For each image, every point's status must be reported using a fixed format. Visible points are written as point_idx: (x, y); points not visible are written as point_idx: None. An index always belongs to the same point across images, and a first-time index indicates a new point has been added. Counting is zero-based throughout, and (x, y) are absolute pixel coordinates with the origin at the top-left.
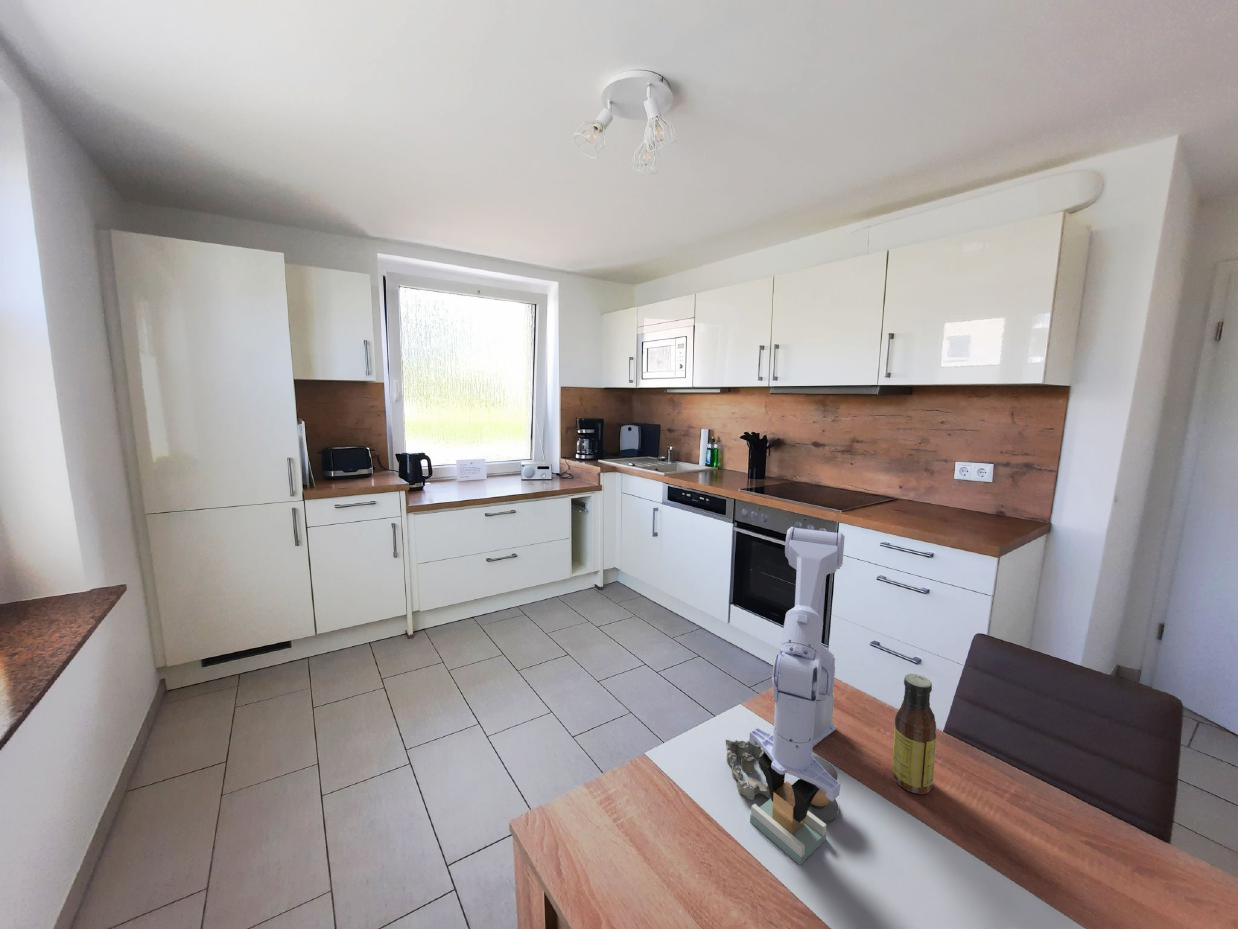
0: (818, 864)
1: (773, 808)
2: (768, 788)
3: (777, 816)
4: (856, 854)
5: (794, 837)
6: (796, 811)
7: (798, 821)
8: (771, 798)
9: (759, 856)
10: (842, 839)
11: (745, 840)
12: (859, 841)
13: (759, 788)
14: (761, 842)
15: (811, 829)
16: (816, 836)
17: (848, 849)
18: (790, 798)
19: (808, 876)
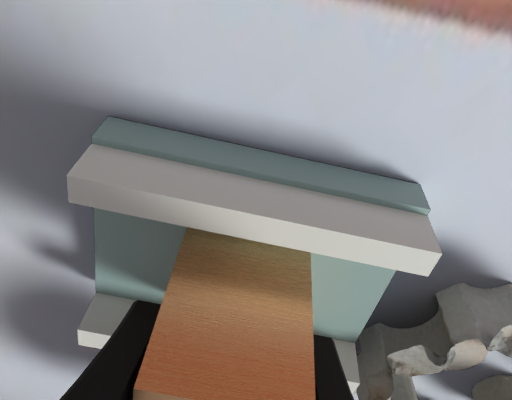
0: (60, 174)
1: (306, 304)
2: (385, 369)
3: (276, 274)
4: (4, 288)
5: (136, 213)
6: (119, 366)
7: (135, 306)
8: (333, 356)
9: (297, 18)
10: (70, 312)
11: (410, 63)
12: (31, 331)
13: (427, 354)
14: (322, 112)
15: (145, 294)
16: (110, 278)
17: (33, 291)
18: None
19: (48, 88)
